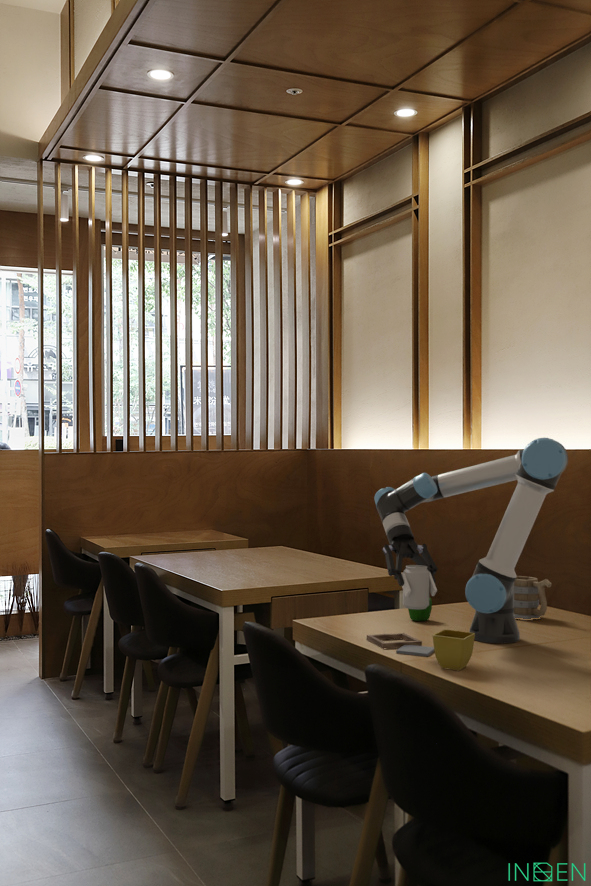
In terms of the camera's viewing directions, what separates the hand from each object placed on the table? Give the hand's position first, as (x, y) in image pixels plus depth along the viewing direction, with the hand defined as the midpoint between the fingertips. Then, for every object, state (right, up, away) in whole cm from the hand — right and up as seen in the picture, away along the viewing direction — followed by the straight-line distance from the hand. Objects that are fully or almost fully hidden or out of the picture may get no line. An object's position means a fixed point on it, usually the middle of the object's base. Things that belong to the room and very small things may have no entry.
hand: (421, 593), depth 233 cm
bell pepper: (+7, -19, +51) cm, 55 cm away
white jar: (-1, -5, +3) cm, 6 cm away
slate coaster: (-1, -17, +3) cm, 17 cm away
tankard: (+47, -20, +57) cm, 76 cm away
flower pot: (+6, -17, -16) cm, 24 cm away
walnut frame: (-6, -17, +14) cm, 23 cm away
